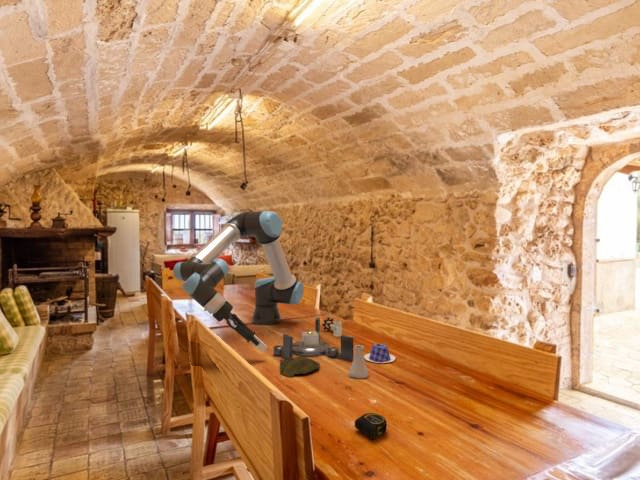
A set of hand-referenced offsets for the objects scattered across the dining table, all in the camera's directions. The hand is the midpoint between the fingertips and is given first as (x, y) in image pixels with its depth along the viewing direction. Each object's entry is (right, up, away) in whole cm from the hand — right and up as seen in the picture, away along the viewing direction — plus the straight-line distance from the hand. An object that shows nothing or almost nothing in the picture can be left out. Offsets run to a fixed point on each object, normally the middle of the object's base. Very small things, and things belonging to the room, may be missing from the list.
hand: (264, 349), depth 153 cm
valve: (+28, -3, +37) cm, 47 cm away
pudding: (+44, -5, +2) cm, 44 cm away
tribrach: (+18, -4, +14) cm, 23 cm away
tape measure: (+34, -7, -54) cm, 64 cm away
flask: (+34, -5, -15) cm, 38 cm away
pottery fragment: (+13, -5, -9) cm, 17 cm away
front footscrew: (+7, -4, +4) cm, 9 cm away
